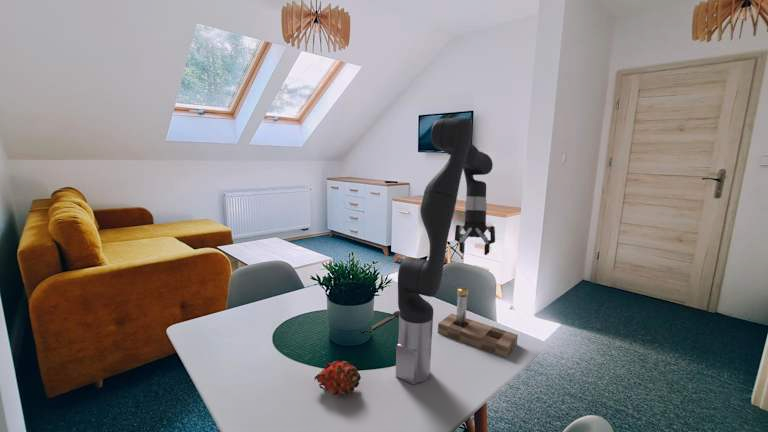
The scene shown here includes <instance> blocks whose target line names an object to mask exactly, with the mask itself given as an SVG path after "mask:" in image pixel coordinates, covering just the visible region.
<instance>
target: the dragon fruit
mask: <svg viewBox="0 0 768 432" xmlns="http://www.w3.org/2000/svg"><path fill="white" fill-rule="evenodd" d="M361 378H362V377H361V375H360V373H359V370H358V368H357V367H355V366H354V365H353V364H352V365H351V363H350V362H348V361H345V360H341V361H340V360H335V361H334V360H333V362H330V363H327V364H326V366H325V368H324V369H322V370H321V371H320V372H319V373H318V374H317V375H315V377H314V381H316V380H317V382H318V386H319V388H320V389H322V390H323V392H324V394H326V393H328V392H330V391H333V396H334V397H338V396H340V395H341V394H342V395H345V394H348V393H349V392H354V391H355V388H358V387H359V385H360V380H361Z"/></svg>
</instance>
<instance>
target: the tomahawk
mask: <svg viewBox="0 0 768 432" xmlns="http://www.w3.org/2000/svg"><path fill="white" fill-rule="evenodd" d="M397 316H399V310H396V311H393V313H392V314H391V315H390V316H387V317H385V318H384V319H383V320H381V321H378V322H377V323H375V324H374V325H372V326H371V327H372V328H371V333H370V334H371V335H374V333H373V332H374V330H375V329H377V328H378V327H380V326H382V325H384V324H385V323H387V322H389V321H391V320H393V319H395V318H396V317H397Z"/></svg>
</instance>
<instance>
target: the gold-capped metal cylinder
mask: <svg viewBox="0 0 768 432" xmlns="http://www.w3.org/2000/svg"><path fill="white" fill-rule="evenodd" d="M456 291H457V293H456V295H457V300H456V304H457V305H456V314H455V315H456V325H457V326H460V327H463V328H464V327H465V321H466V318H467V305H468V296H469V288H468V287H467V288H466V287H462V286H461V287H458V288H457V290H456Z"/></svg>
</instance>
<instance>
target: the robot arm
mask: <svg viewBox="0 0 768 432" xmlns="http://www.w3.org/2000/svg"><path fill="white" fill-rule="evenodd" d="M473 130H474V127H473V123H472V121H471V119H469V118H467V117H447V118H446V117H445V118H438V119H437V120H435V121H434V122H433V125H432V127H431V131H430V136H431V137H430V138H431V143H432V145H433V146H434V147H435V148H436V149H437V150H439V151H441V152H444V153H445V154H447V155H449V156H450V157H449V158H448V160H447V162H446V163H445V165H444V166H442V168H441V169H440V170H438V173H436V174H435V175H434V176H433V178H432V179H431V180H430V181H429V182H428V183H427V185H426V186H425V188H424V192H423V197H422V199H421V200H422V201H421V205H420V216H421V220H422V224H423V226H424V229H425V232H426V234H427V237H428V241H429V254H428V260H427V259H422V258H417V257H412V256H408V257H405V258H403V260H402V261H401V262H400V265H399V268H398V272H397V305H398V306H397V307H398V309H399V310H398V311H399V314H398V340H397V341H398V343H397V344H396V353H395V354H396V355H395V357H396V358H395V359H396V360H395V377H397V378H399V379H401V380H403V381H405V382H407V383H409V384H411V385H416V384H418V383H423V382H426V381H427V380H428V379H429V378H430V375H431V364H432V363H431V360H432V359H431V358H432V341H433V325H434V324H433V323H434V307H433V305H432V304H431V303H430V302H429V301H427V300H425V299H424V298H423V297H422V296H424V297H429V298H432V297H434V296H436V295H437V293H438V292H439V290H440V285H441V283H442V279H443V271H444V267H445V265H444V264H445V259H446V258H445V257H446V251H447V244H448V243H447V242H448V238H449V235H450V234H449V233H450V230H451V226H452V221H453V217H454V214H455V213H454V212H455V208H456V205H457V200H458V194H459V187H460V183H461V179H462V178H461V177H462V174H463V173H464V177H465V183H466V196H465V197H466V198H465V207H464V208H465V209H464V225H461V224H456V225H455V232H454V241H455V242H458V244H459V252H460V253H461V254H464V253H465V245H466V244H465V243H466V242H465V241H466V240H467V239H469V238H481V240H483V242H484V251H483V252H484V253H483V254H484V256H487V255H489V254H490V245H491V244H495V243H496V227H495V226H494V225H491V226H487V184H486V182H485V181H483V180H477V179H475V178H474V176H484V175H489V174H490V173H491V172H492V170H493V166H494V165H493V160H492V158H491V156H489V154H487V153H484V152H482V151H480V150H479V149H478V148H477V147H476V145H474V144H473V143H472V140H473V139H472V138H473V133H474V131H473ZM461 231H464V232H465V233H464V234H462V237H461V238H460V236H461ZM486 231H488V233H489V236H490V238H489V239H488V236H487V235H486V234H485V233H486Z"/></svg>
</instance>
